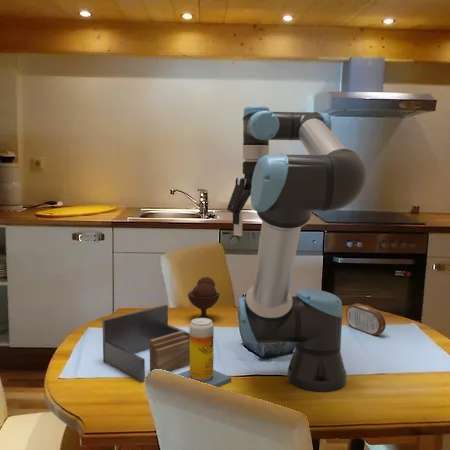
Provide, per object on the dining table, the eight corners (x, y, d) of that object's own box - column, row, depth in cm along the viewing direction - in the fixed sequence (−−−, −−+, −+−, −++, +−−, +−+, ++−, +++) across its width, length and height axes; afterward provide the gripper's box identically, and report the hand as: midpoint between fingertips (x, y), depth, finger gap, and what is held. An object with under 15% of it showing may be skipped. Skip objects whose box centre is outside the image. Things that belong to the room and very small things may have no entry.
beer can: (210, 383, 136) (210, 325, 134) (186, 380, 137) (186, 324, 135) (215, 373, 142) (215, 318, 140) (193, 371, 143) (193, 316, 141)
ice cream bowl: (187, 315, 193) (187, 274, 191) (218, 314, 194) (218, 274, 192) (188, 325, 182) (188, 282, 180) (221, 324, 184) (221, 281, 181)
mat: (231, 381, 139) (231, 377, 139) (199, 394, 132) (199, 390, 132) (203, 368, 147) (203, 364, 147) (171, 380, 140) (171, 376, 140)
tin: (385, 337, 173) (387, 311, 172) (379, 339, 172) (380, 313, 170) (350, 324, 186) (351, 300, 184) (343, 325, 184) (344, 301, 183)
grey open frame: (205, 359, 153) (206, 319, 151) (141, 382, 138) (141, 337, 136) (165, 342, 166) (165, 304, 165) (103, 361, 151) (102, 320, 150)
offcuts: (190, 364, 150) (190, 333, 148) (158, 376, 142) (157, 343, 141) (181, 361, 152) (181, 330, 151) (149, 372, 145) (149, 339, 143)
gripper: (274, 160, 168) (272, 227, 171) (215, 160, 151) (214, 235, 154) (293, 160, 162) (291, 230, 166) (234, 161, 145) (233, 239, 149)
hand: (254, 233), depth 160 cm, fingers open, 13 cm apart
